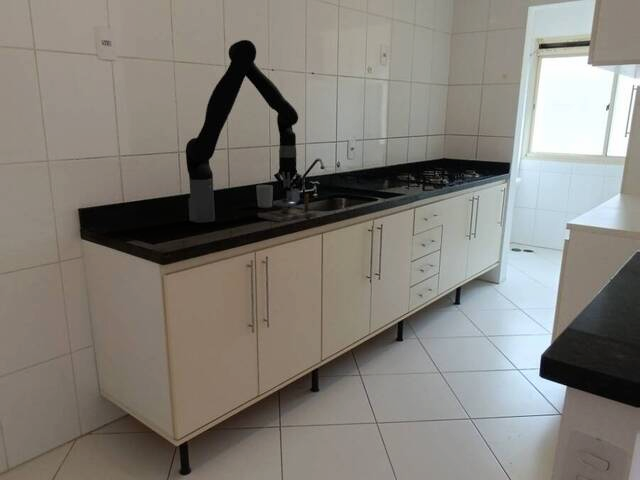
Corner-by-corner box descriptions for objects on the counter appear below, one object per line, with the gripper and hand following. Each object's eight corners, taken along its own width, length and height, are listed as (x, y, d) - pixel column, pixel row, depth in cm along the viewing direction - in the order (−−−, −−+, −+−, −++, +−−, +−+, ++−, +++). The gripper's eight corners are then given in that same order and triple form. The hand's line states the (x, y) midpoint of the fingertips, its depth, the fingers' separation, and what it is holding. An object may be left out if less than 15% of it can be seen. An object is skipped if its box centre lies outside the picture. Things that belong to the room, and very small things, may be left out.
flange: (291, 206, 204) (290, 194, 202) (269, 205, 207) (268, 193, 206) (307, 200, 220) (307, 189, 219) (286, 199, 223) (286, 188, 222)
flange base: (279, 221, 201) (279, 199, 198) (257, 216, 211) (257, 196, 209) (316, 215, 214) (316, 195, 212) (294, 211, 224) (293, 191, 222)
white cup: (261, 208, 232) (261, 187, 230) (253, 206, 239) (253, 185, 236) (276, 206, 237) (275, 186, 235) (268, 204, 243) (267, 184, 241)
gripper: (270, 156, 215) (270, 195, 219) (298, 157, 210) (298, 197, 215) (277, 155, 222) (278, 193, 226) (305, 156, 217) (304, 195, 221)
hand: (287, 195), depth 220 cm, fingers closed
